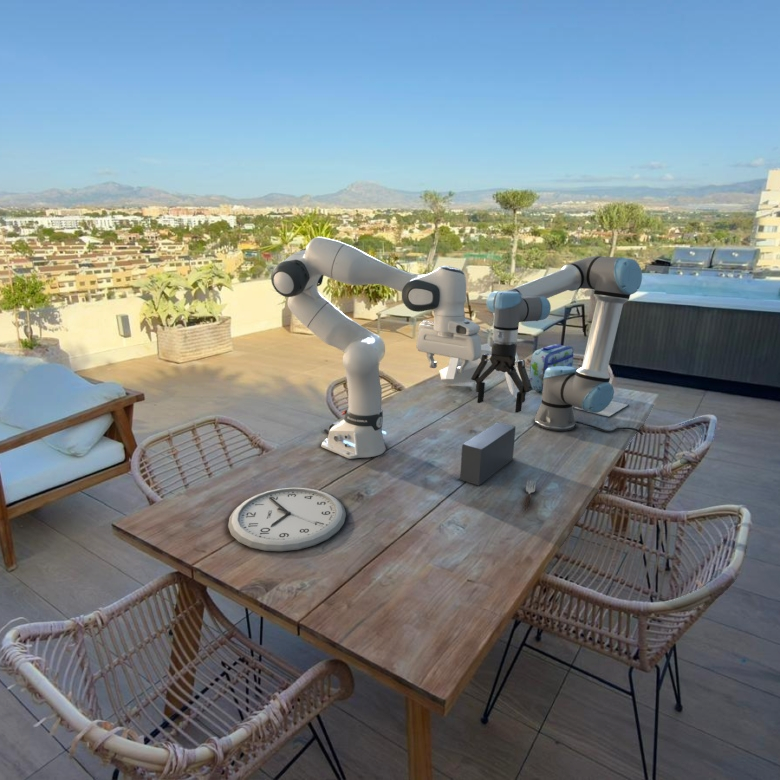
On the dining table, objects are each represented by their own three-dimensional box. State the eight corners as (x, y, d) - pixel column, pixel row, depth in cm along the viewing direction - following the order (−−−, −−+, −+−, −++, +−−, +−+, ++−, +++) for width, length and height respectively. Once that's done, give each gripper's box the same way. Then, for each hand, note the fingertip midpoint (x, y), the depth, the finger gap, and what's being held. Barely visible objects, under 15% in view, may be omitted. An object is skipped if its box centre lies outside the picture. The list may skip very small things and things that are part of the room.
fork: (520, 510, 142) (521, 503, 141) (526, 484, 156) (527, 478, 155) (530, 512, 141) (531, 505, 140) (535, 486, 155) (536, 480, 154)
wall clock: (346, 543, 123) (215, 547, 120) (346, 549, 123) (215, 553, 121) (345, 483, 151) (239, 485, 149) (345, 488, 152) (240, 490, 149)
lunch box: (545, 397, 238) (550, 352, 231) (524, 391, 245) (529, 348, 239) (572, 386, 255) (578, 344, 249) (552, 381, 262) (557, 340, 256)
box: (495, 454, 177) (497, 421, 174) (512, 459, 173) (515, 426, 170) (459, 479, 159) (462, 444, 155) (478, 485, 155) (481, 449, 152)
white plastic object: (461, 429, 252) (437, 405, 227) (444, 352, 274) (420, 323, 250) (535, 404, 240) (518, 377, 215) (510, 326, 262) (492, 293, 237)
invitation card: (608, 416, 214) (573, 407, 224) (608, 416, 214) (573, 408, 224) (628, 404, 229) (594, 396, 238) (628, 405, 229) (594, 397, 238)
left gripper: (413, 321, 155) (411, 366, 159) (474, 330, 143) (471, 378, 147) (424, 318, 160) (423, 362, 164) (485, 327, 148) (481, 374, 152)
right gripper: (463, 338, 167) (459, 401, 173) (537, 350, 152) (529, 418, 158) (475, 334, 173) (471, 395, 179) (547, 346, 157) (540, 412, 164)
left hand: (446, 370), depth 155 cm, fingers open, 8 cm apart
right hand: (498, 406), depth 168 cm, fingers open, 13 cm apart
